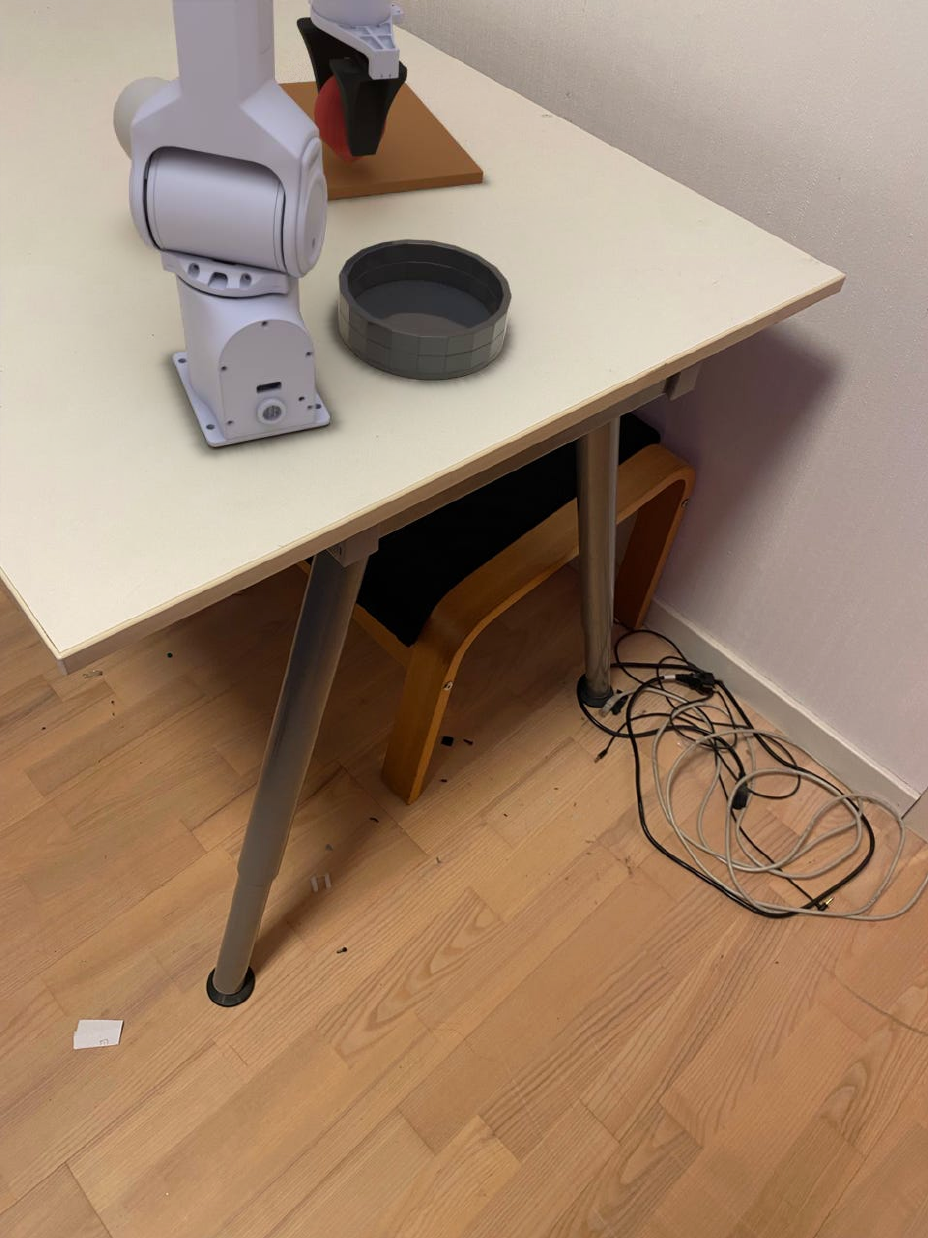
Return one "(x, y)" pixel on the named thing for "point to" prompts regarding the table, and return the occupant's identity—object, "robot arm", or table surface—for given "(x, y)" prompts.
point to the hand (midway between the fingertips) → (349, 135)
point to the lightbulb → (133, 107)
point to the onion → (333, 120)
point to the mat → (394, 151)
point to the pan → (423, 308)
